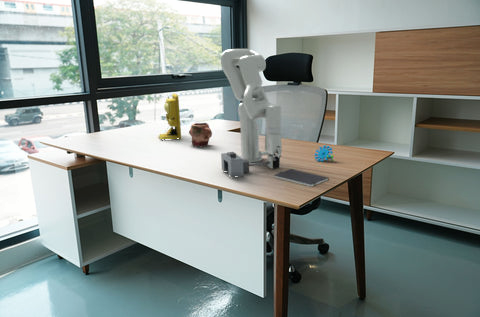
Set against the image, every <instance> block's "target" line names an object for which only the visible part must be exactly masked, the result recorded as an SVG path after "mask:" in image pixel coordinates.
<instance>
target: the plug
mask: <svg viewBox="0 0 480 317" xmlns="http://www.w3.org/2000/svg"><path fill="white" fill-rule="evenodd" d="M276 156H277V155H275V157H276ZM273 161H274V158H273V155H267V161H262V162H261V161H259V162H253V163H249V161H247V160H246V159H245V160H243V173H249V172H250V167H256V166H264V165H267V167H268V168H269V169H274V168H273ZM280 168H281V159H280V160H279V168H278V169H280Z"/></svg>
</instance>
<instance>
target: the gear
mask: <svg viewBox="0 0 480 317" xmlns="http://www.w3.org/2000/svg"><path fill="white" fill-rule="evenodd" d="M315 151H316V152H315V153H314V154H313V155H314V159H315V160H317V162H321V163H322V162H324V160H325V161H329V160H331V161H332V162H334V161H335V160H334V159H333V158H334V155H333V153H334V152H333V148H332V147H331V146H330V145H323V146H319V147H318V149H316V150H315Z"/></svg>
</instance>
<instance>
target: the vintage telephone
mask: <svg viewBox="0 0 480 317" xmlns="http://www.w3.org/2000/svg"><path fill="white" fill-rule="evenodd" d="M171 96H172V97H171V98H170V97H169V96H168V97H167V98H166V99H165V103H164V106H163V107H164V111H165V113H166V114H165V120H166V121H167V124H168V125H169V126H168V127H170V128H169V129H167V130H166V132H165V133H160V134H159V135H158V136H159V137H160V138H159V137H158V138H159V140H160V139H175V140H180V139H181V140H182V132H181V131H182V130H181V127H182V126H181V117H180V116H181V115H180V102H179V101H180V100H179V95H178V94H176V93H172V95H171ZM177 138H179V139H177Z"/></svg>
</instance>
